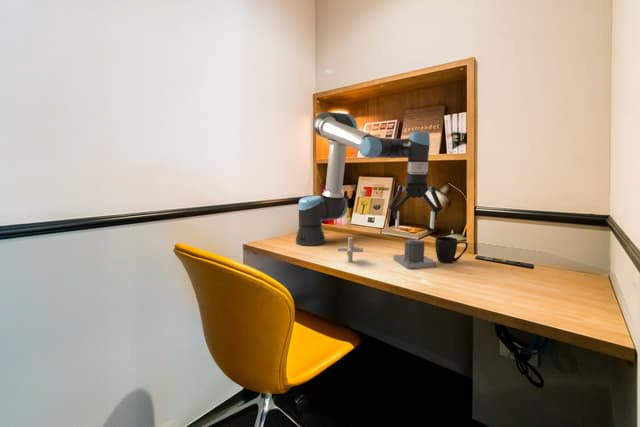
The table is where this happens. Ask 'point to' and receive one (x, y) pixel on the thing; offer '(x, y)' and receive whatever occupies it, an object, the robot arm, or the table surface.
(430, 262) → the shaft block
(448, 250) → the mug
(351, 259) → the pipe connector
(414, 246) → the knob
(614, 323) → the table surface
